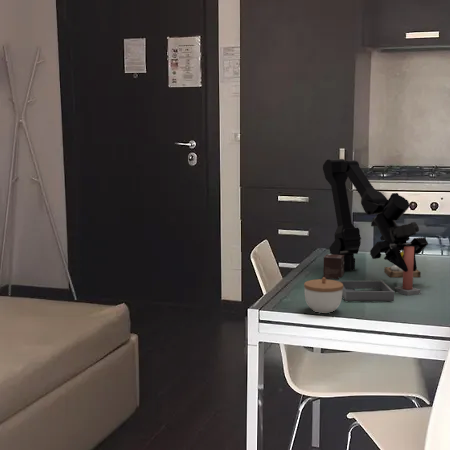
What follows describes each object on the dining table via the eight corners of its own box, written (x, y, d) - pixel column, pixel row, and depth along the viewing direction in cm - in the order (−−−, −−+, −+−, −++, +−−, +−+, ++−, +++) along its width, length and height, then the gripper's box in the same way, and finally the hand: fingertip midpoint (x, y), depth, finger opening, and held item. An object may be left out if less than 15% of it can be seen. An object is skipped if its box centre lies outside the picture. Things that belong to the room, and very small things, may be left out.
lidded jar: (295, 310, 198) (296, 277, 197) (319, 303, 206) (320, 271, 204) (326, 318, 191) (327, 284, 189) (350, 310, 198) (351, 277, 197)
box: (340, 280, 235) (341, 258, 234) (322, 278, 237) (323, 257, 236) (344, 276, 241) (344, 254, 240) (326, 274, 243) (326, 253, 242)
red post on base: (394, 291, 220) (396, 245, 218) (407, 289, 222) (408, 244, 220) (407, 295, 215) (409, 249, 213) (420, 293, 217) (422, 247, 215)
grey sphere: (391, 274, 239) (391, 266, 238) (389, 272, 242) (389, 264, 241) (400, 274, 239) (400, 266, 238) (398, 272, 242) (398, 264, 241)
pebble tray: (390, 279, 236) (390, 272, 235) (384, 274, 243) (384, 267, 243) (420, 279, 236) (420, 272, 235) (413, 274, 244) (413, 267, 243)
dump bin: (337, 290, 221) (337, 280, 221) (382, 290, 222) (382, 280, 221) (345, 302, 207) (346, 292, 207) (393, 301, 208) (394, 291, 207)
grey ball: (399, 276, 237) (400, 267, 236) (397, 274, 240) (397, 265, 239) (408, 276, 237) (409, 267, 236) (406, 274, 240) (406, 265, 239)
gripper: (377, 215, 215) (400, 258, 206) (425, 211, 223) (449, 252, 215) (360, 237, 223) (381, 279, 215) (407, 233, 231) (429, 273, 223)
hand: (411, 270), depth 216 cm, fingers closed on red post on base, 3 cm apart
